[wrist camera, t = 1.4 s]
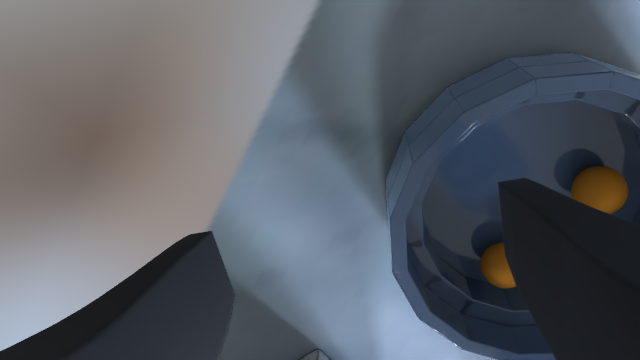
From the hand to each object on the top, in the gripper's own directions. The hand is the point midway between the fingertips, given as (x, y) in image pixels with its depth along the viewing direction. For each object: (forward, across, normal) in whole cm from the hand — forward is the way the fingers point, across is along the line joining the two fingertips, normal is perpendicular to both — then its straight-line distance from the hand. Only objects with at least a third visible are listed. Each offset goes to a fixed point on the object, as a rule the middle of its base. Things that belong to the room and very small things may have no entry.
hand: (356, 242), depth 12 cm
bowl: (+10, -7, +5) cm, 13 cm away
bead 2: (+8, -9, +4) cm, 13 cm away
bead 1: (+8, -5, +7) cm, 12 cm away
